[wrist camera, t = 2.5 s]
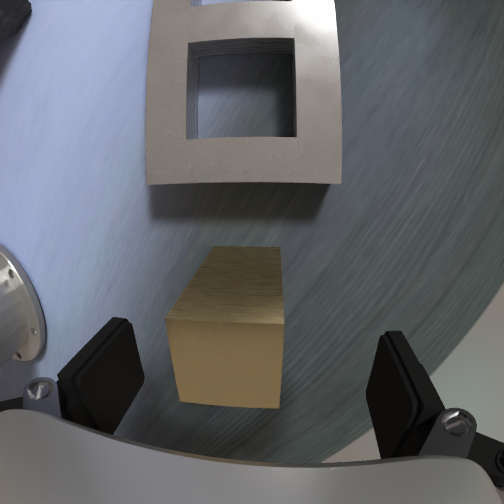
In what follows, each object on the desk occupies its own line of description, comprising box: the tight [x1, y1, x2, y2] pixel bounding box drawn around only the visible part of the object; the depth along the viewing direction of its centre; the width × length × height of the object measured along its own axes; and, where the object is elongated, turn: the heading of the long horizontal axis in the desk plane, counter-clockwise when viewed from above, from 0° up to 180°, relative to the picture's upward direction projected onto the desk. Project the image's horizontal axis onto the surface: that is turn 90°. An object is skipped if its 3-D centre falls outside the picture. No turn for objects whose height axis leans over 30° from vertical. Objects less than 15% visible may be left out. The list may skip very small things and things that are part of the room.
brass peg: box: [165, 246, 284, 408], centre depth 15 cm, size 4×4×9 cm
